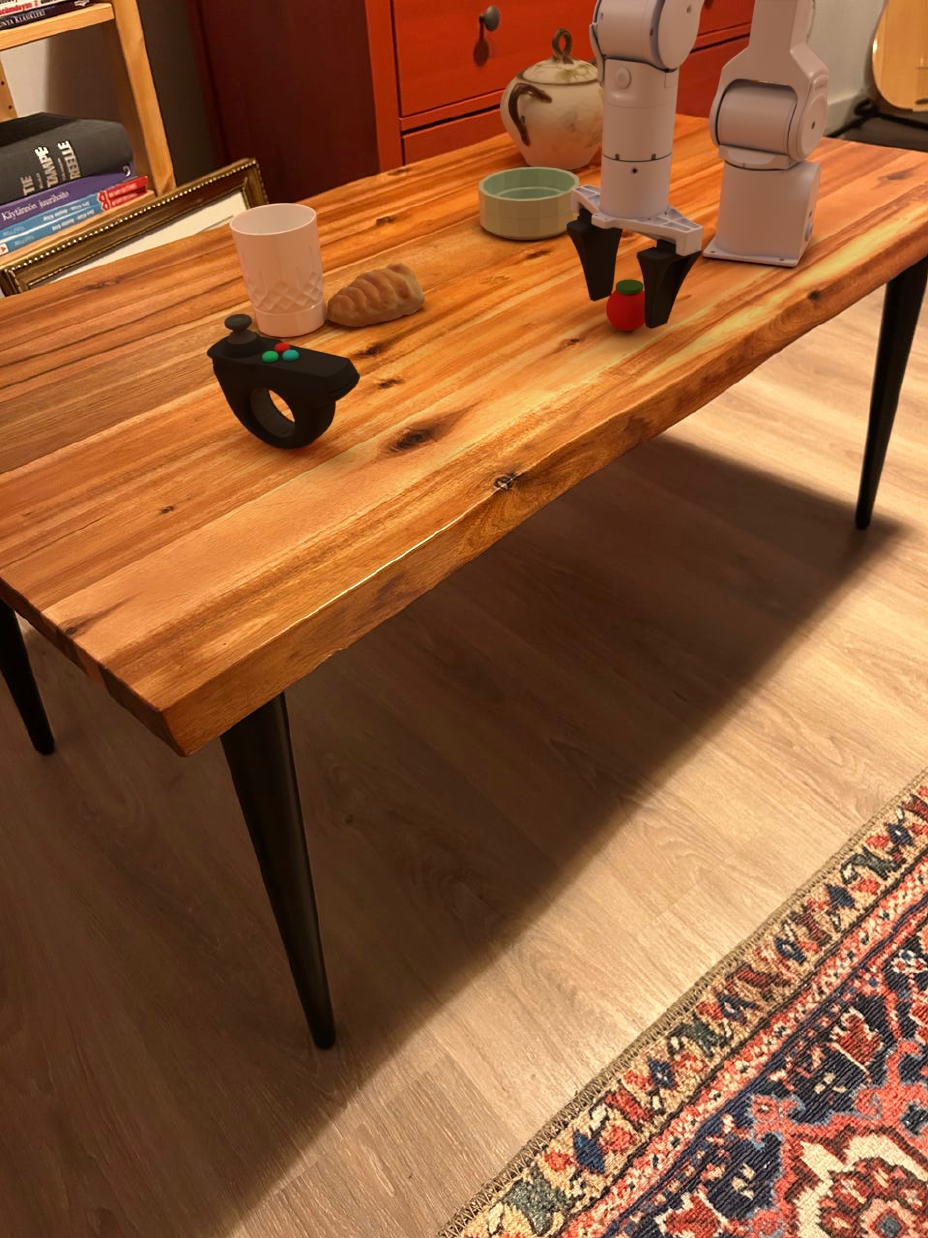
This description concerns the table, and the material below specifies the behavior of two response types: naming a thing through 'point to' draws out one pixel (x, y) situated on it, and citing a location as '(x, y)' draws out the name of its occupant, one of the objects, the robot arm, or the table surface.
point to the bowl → (527, 202)
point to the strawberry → (626, 305)
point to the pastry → (377, 297)
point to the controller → (279, 384)
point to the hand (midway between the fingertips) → (627, 310)
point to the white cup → (281, 267)
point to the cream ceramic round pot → (555, 109)
